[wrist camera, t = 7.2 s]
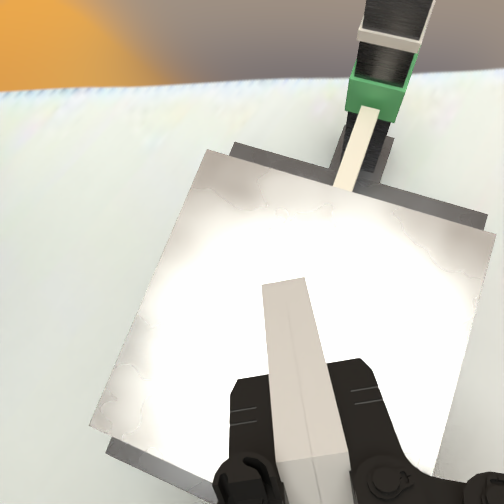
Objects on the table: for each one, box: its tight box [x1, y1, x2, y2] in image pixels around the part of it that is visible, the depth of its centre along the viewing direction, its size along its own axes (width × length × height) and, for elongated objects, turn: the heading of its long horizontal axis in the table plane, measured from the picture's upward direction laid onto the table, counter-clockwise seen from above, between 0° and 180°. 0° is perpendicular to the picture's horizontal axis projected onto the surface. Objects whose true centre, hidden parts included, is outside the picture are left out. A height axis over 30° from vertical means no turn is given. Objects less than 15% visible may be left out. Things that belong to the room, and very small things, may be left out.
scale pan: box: [89, 105, 496, 483], centre depth 20 cm, size 12×16×7 cm
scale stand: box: [106, 0, 488, 504], centre depth 17 cm, size 15×22×16 cm
